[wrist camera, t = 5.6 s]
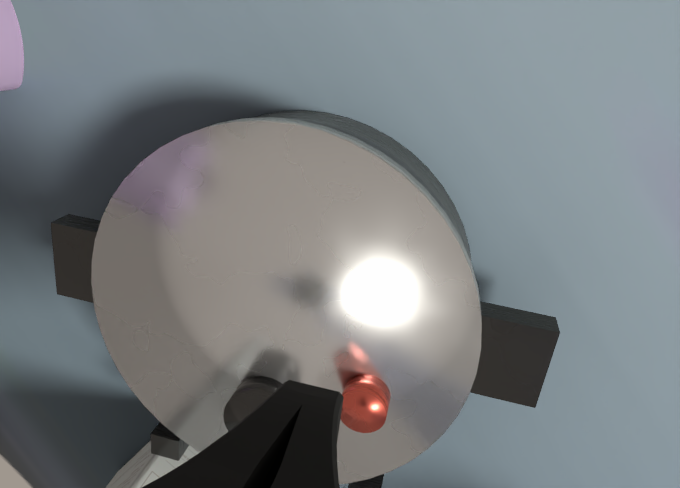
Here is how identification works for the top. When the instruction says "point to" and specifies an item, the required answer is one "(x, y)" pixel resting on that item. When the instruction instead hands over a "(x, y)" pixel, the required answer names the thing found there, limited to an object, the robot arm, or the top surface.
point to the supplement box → (147, 468)
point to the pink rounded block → (10, 48)
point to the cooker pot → (497, 321)
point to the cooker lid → (288, 288)
